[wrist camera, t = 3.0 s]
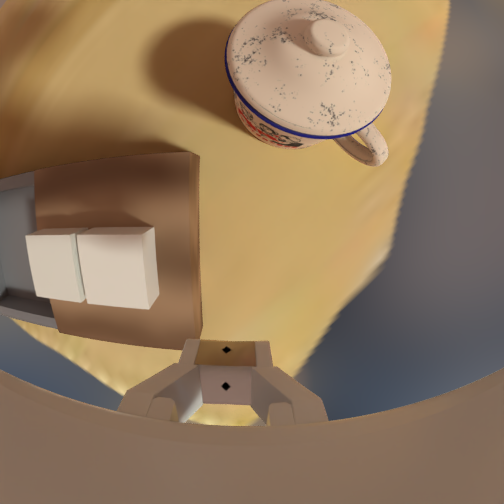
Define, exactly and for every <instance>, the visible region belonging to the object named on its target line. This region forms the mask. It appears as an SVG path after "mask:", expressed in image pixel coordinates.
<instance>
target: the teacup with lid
mask: <svg viewBox="0 0 504 504" xmlns="http://www.w3.org/2000/svg"><path fill="white" fill-rule="evenodd" d="M225 67H226V72H227V76H228V79H229V81H230V84H231V86H232V88H233V92H234V99H235V106H236V110H237V113H238V115H239V117H240V119H241V121H242V123H243V124H244V126H245V127H246V128H247V129H248V130H249V131H250V132H251V133H252V134H253V135H254V136H255V137H257V138H258V139H260V140H261V141H263V142H265V143H267V144H269V145H272V146H275V147H279V148H284V149H302V148H306V147H310V146H313V145H315V144H317V143H320V142H322V141H324V140H327V139H333V140H334V141H335V142H336V143H337V144H338V145H339V146H340V147H341V148H342V149H343V150H344V151H345V152H346V153H347V154H349V155H350V156H351V157H353V158H354V159H356V160H357V161H359V162H361V163H363V164H366V165H368V166H379V165H381V164H382V163H383V162H384V161H385V160H386V159H387V157H388V147H387V144H386V142H385V140H384V138H383V136H382V135H381V133H380V132H379V131H378V129H377V128H376V127H375V126H374V124H373V123H372V122H373V121H374V120H375V119H376V118H377V117H378V116H379V114H380V113H381V111H382V110H383V108H384V106H385V104H386V102H387V99H388V97H389V93H390V88H391V69H390V64H389V60H388V57H387V55H386V52H385V50H384V48H383V46H382V44H381V43H380V41H379V39H378V38H377V37H376V35H375V34H374V33H373V32H372V30H371V29H370V28H369V27H368V26H367V25H366V24H365V23H364V22H363V21H361V20H360V19H359V18H358V17H356V16H355V15H353V14H352V13H350V12H349V11H347V10H345V9H343V8H341V7H339V6H337V5H335V4H332V3H330V2H327V1H323V0H271V1H268V2H265V3H263V4H261V5H259V6H257V7H255V8H253V9H252V10H250V11H249V12H248V13H246V14H245V15H244V16H243V17H242V18H241V19H240V20H239V22H238V23H237V24H236V25H235V27H234V28H233V30H232V31H231V33H230V35H229V38H228V40H227V43H226V48H225ZM354 133H357V135H358V136H359V137H360V138H361V139H362V140H363V142H364V143H365V144H366V145H367V147H368V148H367V147H365V146H363V145H362V144H360V143H359V142H358V141H356V140H355V139H354V138H353V137H352V136H351V134H354Z"/></svg>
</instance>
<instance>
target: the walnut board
mask: <svg viewBox="0 0 504 504" xmlns="http://www.w3.org/2000/svg"><path fill="white" fill-rule="evenodd" d="M199 162H200V156H198V155H196V154H194V153H191V152H172V153H155V154H142V155H131V156H121V157H112V158H104V159H96V160H89V161H82V162H76V163H70V164H64V165H58V166H53V167H48V168H43V169H38V170H34V192H35V211H36V222H37V231H39V230H42V229H52V228H88V230H89V229H92V228H94V227H154V230H155V248H156V262H157V274H158V285H159V296H158V297H157V299H156V300H155V302H154V303H153V305H152V306H151V308H150V309H149V310H148V309H136V308H125V307H114V306H105V305H96V304H88V303H87V299H85V300H84V301H83V302H81V303H79V302H72V301H64V300H57V299H51V298H49V299H50V303H51V306H52V310H53V314H54V317H55V321H56V324H57V327H58V331H59V332H60V333H64V334H69V335H74V336H79V337H84V338H90V339H95V340H101V341H107V342H114V343H121V344H128V345H135V346H144V347H153V348H162V349H173V350H183V348H184V345H185V342H186V340H187V339H200V336H201V332H202V328H203V320H202V302H201V280H200V247H199Z"/></svg>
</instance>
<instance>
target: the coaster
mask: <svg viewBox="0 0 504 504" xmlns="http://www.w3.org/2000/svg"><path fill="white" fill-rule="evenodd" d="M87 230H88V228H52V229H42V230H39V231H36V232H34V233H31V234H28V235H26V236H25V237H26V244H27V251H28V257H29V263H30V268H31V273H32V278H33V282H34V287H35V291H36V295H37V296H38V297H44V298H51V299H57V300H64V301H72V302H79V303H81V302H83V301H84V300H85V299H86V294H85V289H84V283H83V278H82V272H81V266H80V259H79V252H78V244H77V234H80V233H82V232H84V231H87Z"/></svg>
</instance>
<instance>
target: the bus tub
mask: <svg viewBox="0 0 504 504" xmlns="http://www.w3.org/2000/svg"><path fill="white" fill-rule="evenodd" d="M36 231H37V222H36V211H35V192H34V171H31V172H27V173H23V174H18V175H14V176H10V177H7V178H3V179H0V314H1V315H4V316H8V317H11V318H15V319H18V320H22V321H26V322H30V323H34V324H38V325H42V326H46V327H51V328H55V329H58V327H57V324H56V321H55V317H54V314H53V310H52V306H51V303H50V299H49V298H44V297H38V296H37V295H36V291H35V287H34V282H33V278H32V273H31V268H30V263H29V257H28V251H27V244H26V237H25V236H26V235H28V234H31V233H34V232H36Z"/></svg>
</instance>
